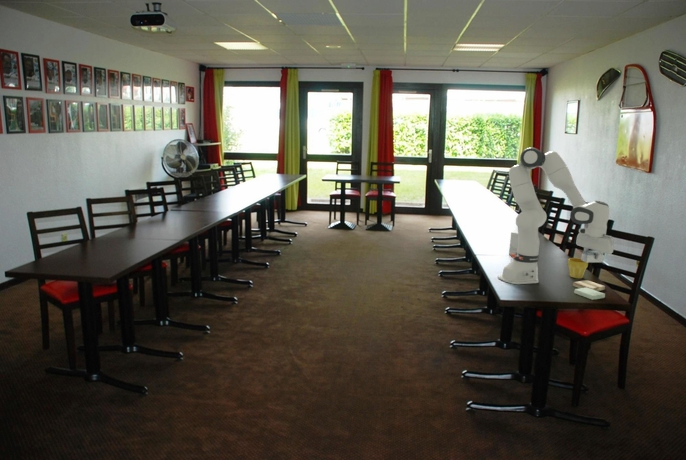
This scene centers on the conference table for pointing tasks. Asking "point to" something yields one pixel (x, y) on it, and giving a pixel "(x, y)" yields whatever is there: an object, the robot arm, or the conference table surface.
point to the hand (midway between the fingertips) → (592, 257)
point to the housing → (591, 256)
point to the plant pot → (577, 267)
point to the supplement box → (513, 242)
